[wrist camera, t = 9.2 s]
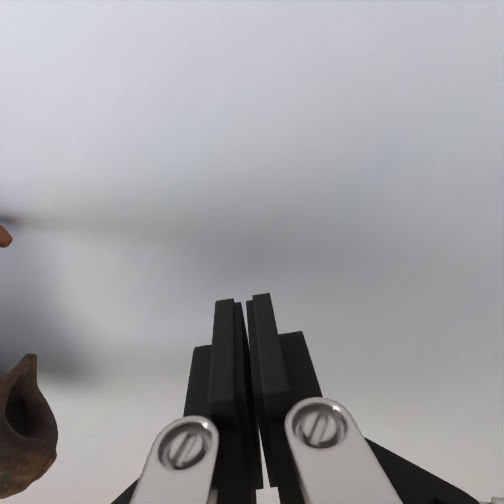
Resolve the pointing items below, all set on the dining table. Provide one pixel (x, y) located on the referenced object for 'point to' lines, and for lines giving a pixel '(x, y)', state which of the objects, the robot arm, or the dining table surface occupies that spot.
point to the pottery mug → (24, 423)
